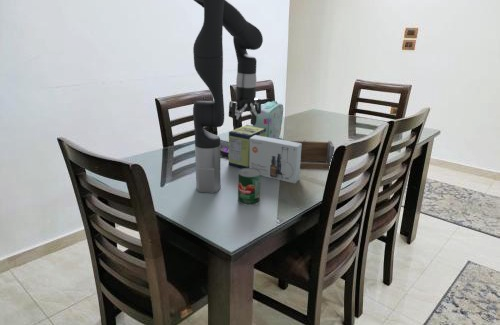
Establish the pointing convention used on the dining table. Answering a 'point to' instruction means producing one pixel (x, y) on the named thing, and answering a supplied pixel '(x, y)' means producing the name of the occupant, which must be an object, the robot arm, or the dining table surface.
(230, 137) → the protein box
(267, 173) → the skincare box
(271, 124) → the lunch box
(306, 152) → the shelf
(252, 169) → the canned tomato
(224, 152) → the box
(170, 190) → the dining table surface
